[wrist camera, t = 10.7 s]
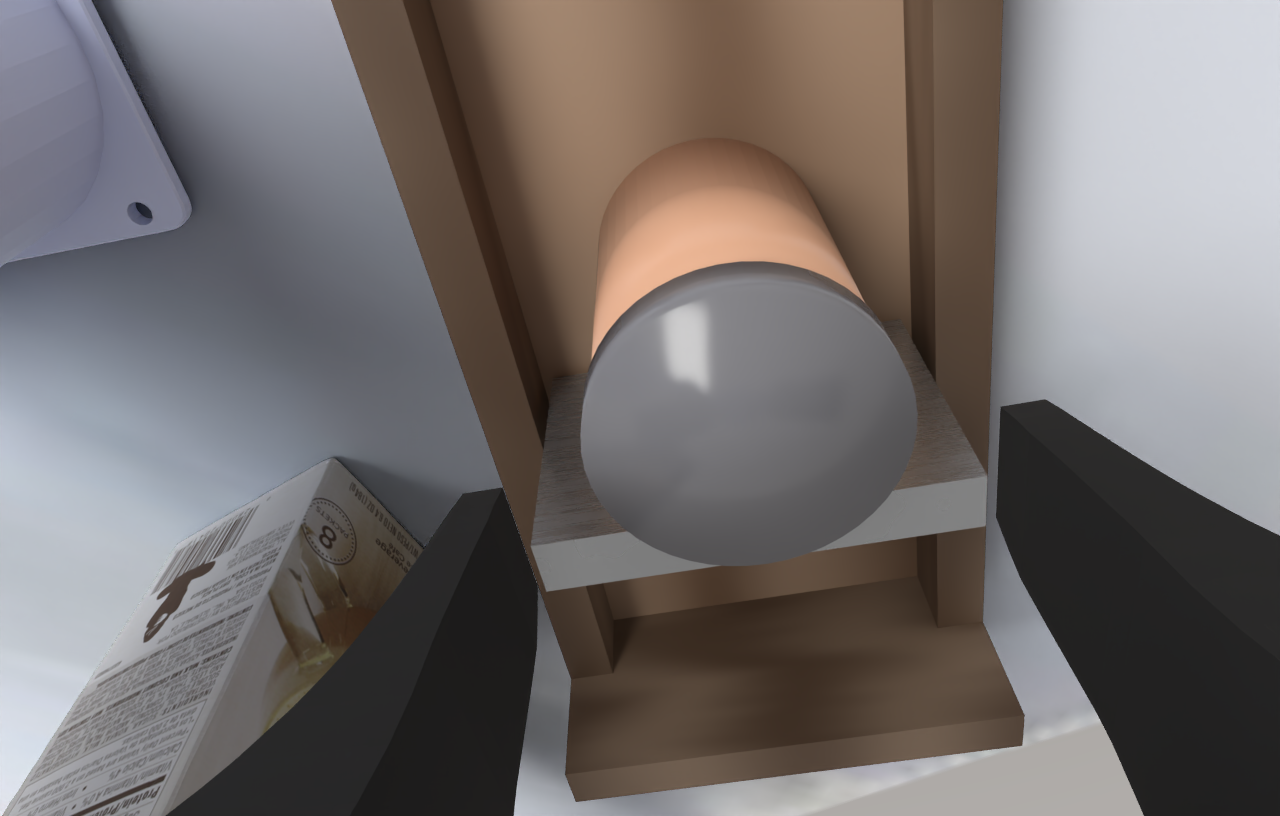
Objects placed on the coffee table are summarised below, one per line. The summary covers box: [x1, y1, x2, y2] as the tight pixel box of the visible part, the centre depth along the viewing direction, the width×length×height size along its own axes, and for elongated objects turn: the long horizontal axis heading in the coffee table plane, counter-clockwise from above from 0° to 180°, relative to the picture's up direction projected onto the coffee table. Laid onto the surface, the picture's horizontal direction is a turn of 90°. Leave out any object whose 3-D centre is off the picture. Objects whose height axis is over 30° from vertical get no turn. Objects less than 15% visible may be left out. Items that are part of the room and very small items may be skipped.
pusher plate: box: [531, 319, 987, 592], centre depth 19 cm, size 8×1×6 cm, turn 101°
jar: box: [580, 138, 918, 566], centre depth 17 cm, size 5×5×8 cm
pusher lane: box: [331, 0, 1025, 802], centre depth 19 cm, size 12×22×6 cm, turn 11°
